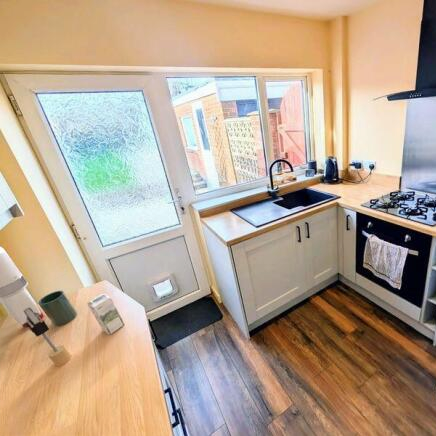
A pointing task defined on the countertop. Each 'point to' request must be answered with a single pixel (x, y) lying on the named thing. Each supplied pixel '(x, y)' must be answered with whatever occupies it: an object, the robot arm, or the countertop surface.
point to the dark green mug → (58, 308)
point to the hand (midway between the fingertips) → (41, 330)
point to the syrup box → (106, 313)
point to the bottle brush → (57, 353)
